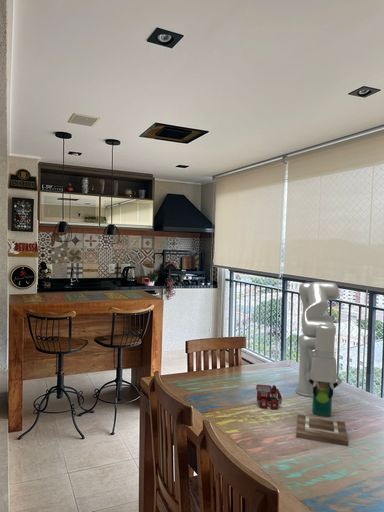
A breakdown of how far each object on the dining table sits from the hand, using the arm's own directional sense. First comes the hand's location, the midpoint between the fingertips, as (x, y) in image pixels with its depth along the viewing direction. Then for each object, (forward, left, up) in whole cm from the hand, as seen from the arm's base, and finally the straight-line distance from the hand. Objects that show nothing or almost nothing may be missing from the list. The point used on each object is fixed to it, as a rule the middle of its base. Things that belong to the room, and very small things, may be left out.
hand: (322, 396), depth 163 cm
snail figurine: (0, -1, -3) cm, 3 cm away
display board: (0, 0, -15) cm, 15 cm away
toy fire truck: (-18, -24, -16) cm, 34 cm away
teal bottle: (-20, 0, -15) cm, 25 cm away
